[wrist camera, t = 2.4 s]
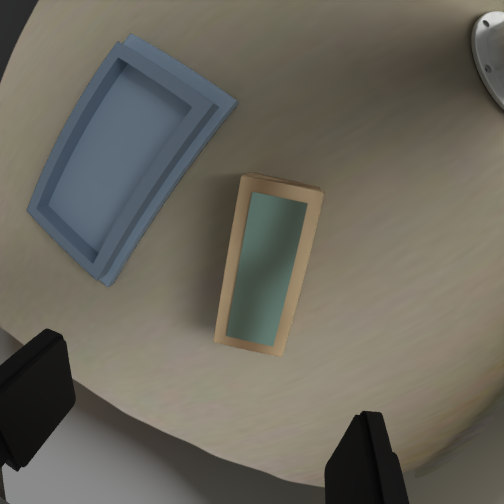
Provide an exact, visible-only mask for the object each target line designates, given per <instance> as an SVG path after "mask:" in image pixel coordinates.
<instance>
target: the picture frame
mask: <svg viewBox="0 0 504 504" xmlns="http://www.w3.org/2000/svg"><path fill="white" fill-rule="evenodd" d="M323 197H324V192H323V191H322V190H321V188H320V187H317V186H313V185H308V184H304V183H299V182H295V181H290V180H285V179H280V178H276V177H271V176H266V175H261V174H255V173H247V174H244V175H241V180H240V186H239V191H238V197H237V202H236V208H235V214H234V219H233V225H232V231H231V237H230V243H229V248H228V254H227V260H226V266H225V272H224V278H223V284H222V291H221V297H220V303H219V309H218V316H217V322H216V328H215V335H214V341H213V342H216V343H220V344H224V345H228V346H233V347H237V348H241V349H246V350H250V351H255V352H259V353H264V354H269V355H274V356H279V357H282V356H283V353H284V349H285V346H286V342H287V339H288V335H289V332H290V328H291V325H292V321H293V317H294V314H295V310H296V307H297V303H298V299H299V295H300V292H301V288H302V284H303V280H304V276H305V272H306V268H307V265H308V261H309V257H310V252H311V248H312V244H313V240H314V236H315V232H316V228H317V223H318V219H319V215H320V210H321V206H322V202H323Z"/></svg>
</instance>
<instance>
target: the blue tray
mask: <svg viewBox="0 0 504 504" xmlns="http://www.w3.org/2000/svg"><path fill="white" fill-rule="evenodd" d="M238 104H239V102H238V101H237V100H235V99H234V98H233V97H231V96H230V95H228V94H227V93H226V92H224V91H223V90H221V89H220V88H218V87H217V86H215V85H214V84H212V83H211V82H209V81H208V80H207V79H205V78H204V77H202V76H200V75H199V74H197V73H196V72H194V71H193V70H191V69H190V68H188V67H187V66H185V65H184V64H182V63H180V62H179V61H177V60H176V59H174V58H172V57H171V56H169V55H167V54H166V53H164V52H163V51H161V50H159V49H158V48H156V47H154V46H152V45H151V44H149V43H147V42H146V41H144V40H142V39H140V38H139V37H137V36H135V35H133V34H130V35H129V36H128V37H127V39H126V40H125V41H124V43H123V44H122V43H120V42H117V43H116V44H115V46H114V47H113V48H112V50H111V51H110V53H109V54H108V55H107V57H106V58H105V60H104V61H103V63H102V64H101V66H100V67H99V69H98V70H97V72H96V73H95V75H94V76H93V78H92V79H91V81H90V83H89V84H88V86H87V87H86V89H85V91H84V92H83V94H82V96H81V97H80V99H79V101H78V102H77V104H76V106H75V108H74V109H73V111H72V113H71V115H70V116H69V118H68V120H67V122H66V124H65V126H64V128H63V130H62V131H61V133H60V135H59V137H58V139H57V141H56V143H55V145H54V147H53V149H52V152H51V154H50V156H49V158H48V160H47V162H46V164H45V167H44V169H43V171H42V174H41V176H40V178H39V181H38V183H37V185H36V188H35V190H34V193H33V195H32V198H31V200H30V203H29V206H28V208H27V212H28V213H29V214H30V215H31V216H32V217H33V218H34V219H35V220H36V221H37V222H38V224H39V225H40V226H41V227H42V228H43V229H44V230H45V231H46V232H47V233H48V234H49V235H50V236H51V237H52V238H53V239H54V240H55V241H56V242H57V243H58V244H59V245H60V246H61V247H62V248H63V249H64V250H65V251H66V252H67V253H68V254H69V255H70V256H71V257H72V258H73V259H74V260H75V261H76V262H77V263H78V264H79V265H80V266H82V267H83V268H84V269H85V270H86V271H87V272H88V273H89V274H90V275H91V276H92V277H93V278H94V279H96V280H97V281H98V280H100V281H101V282H102V283H103V284H105V285H106V286H107V287H109V286H111V285H112V284H113V283H114V282H115V280H116V278H117V277H118V275H119V273H120V271H121V270H122V268H123V266H124V265H125V263H126V262H127V260H128V258H129V257H130V255H131V253H132V252H133V250H134V249H135V247H136V245H137V244H138V242H139V241H140V239H141V238H142V236H143V234H144V233H145V231H146V230H147V228H148V227H149V225H150V224H151V222H152V221H153V219H154V218H155V216H156V215H157V213H158V212H159V210H160V209H161V207H162V206H163V204H164V203H165V201H166V200H167V198H168V197H169V195H170V194H171V192H172V191H173V190H174V188H175V187H176V185H177V184H178V182H179V181H180V180H181V178H182V177H183V175H184V174H185V173H186V171H187V170H188V168H189V167H190V166H191V164H192V163H193V162H194V160H195V159H196V158H197V156H198V155H199V154H200V152H201V151H202V149H203V148H204V147H205V146H206V144H207V143H208V142H209V140H210V139H211V138H212V136H213V135H214V134H215V132H216V131H217V130H218V129H219V127H220V126H221V125H222V123H223V122H224V121H225V120H226V118H227V117H228V116H229V115H230V113H231V112H232V111H233V110H234V108H235V107H236V106H237V105H238Z"/></svg>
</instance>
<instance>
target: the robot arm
mask: <svg viewBox="0 0 504 504" xmlns="http://www.w3.org/2000/svg"><path fill="white" fill-rule="evenodd" d="M471 47H472V52H473V58H474V61H475V64H476V67H477V70H478V72H479V74H480V77H481V79H482V81H483V83H484V85H485V86H486V88H487V90H488V92H489V93H490V94H491V96H492V97H493V99H494V100H495V101H496V102H497V103H498V105H499V106H500V107H501V108H502V109H503V110H504V12H501V11H491V12H488V13H485V14H484V15H482V16H481V17H480V18H479V19H478V20H477V21H476V22H475V24H474V27H473V29H472V35H471ZM75 399H76V396H75V392H74V386H73V381H72V376H71V370H70V364H69V358H68V351H67V344H66V341H65V340H64V338H63V336H62V335H61V334H60V333H57V332H55V331H53V330H50V329H45V330H43V331H42V332H41V333H39V334H38V335H37V336H36V337H34V338H33V339H32V340H31V341H29V342H28V343H27V344H26V345H24V346H23V347H22V348H21V349H19V350H18V351H17V352H16V353H15V354H13V355H12V356H11V357H10V358H9V359H7V360H6V361H5V362H4V363H3V364H1V365H0V504H9V503H8V502H6V497H5V490H4V483H3V475H2V466H3V465H4V463H6V464H7V465H8V466H10V467H12V468H13V469H14V470H16V471H19V469H20V468H21V467H25V466H26V465H27V464H28V463H29V462H30V460H31V459H32V458H33V457H34V455H35V454H36V453H37V451H38V450H39V449H40V448H41V446H42V445H43V444H44V442H45V441H46V440H47V438H48V437H49V436H50V435H51V433H52V432H53V431H54V430H55V428H56V427H57V426H58V425H59V423H60V422H61V421H62V420H63V418H64V417H65V416H66V415H67V413H68V412H69V411H70V410H71V408H72V407H73V406H74V404H75ZM325 501H326V504H409V501H408V496H407V492H406V488H405V484H404V479H403V475H402V471H401V467H400V463H399V459H398V457H397V455H396V454H395V453H394V452H392V449H391V445H390V441H389V437H388V433H387V430H386V426H385V422H384V419H383V415H382V413H380V412H371V411H362V412H361V413H360V415H355V416H354V418H353V420H352V421H351V423H350V425H349V427H348V429H347V430H346V432H345V434H344V436H343V437H342V439H341V441H340V443H339V444H338V446H337V448H336V449H335V451H334V453H333V454H332V456H331V458H330V459H329V461H328V462H327V464H326V467H325Z"/></svg>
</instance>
